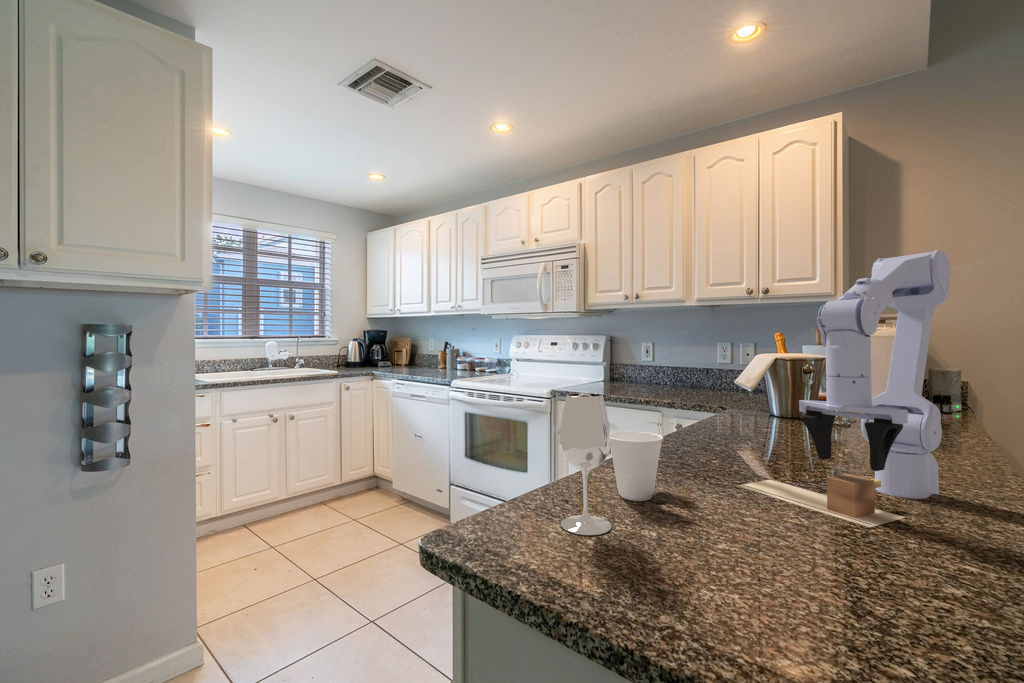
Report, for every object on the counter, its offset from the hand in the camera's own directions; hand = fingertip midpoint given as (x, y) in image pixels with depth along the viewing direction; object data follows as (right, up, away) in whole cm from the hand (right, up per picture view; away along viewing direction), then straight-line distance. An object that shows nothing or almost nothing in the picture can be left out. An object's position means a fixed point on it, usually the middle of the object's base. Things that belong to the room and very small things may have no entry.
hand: (849, 464), depth 72 cm
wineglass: (-41, -9, -1) cm, 42 cm away
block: (+2, -7, +1) cm, 8 cm away
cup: (-30, -9, +13) cm, 34 cm away
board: (-2, -9, +5) cm, 11 cm away
